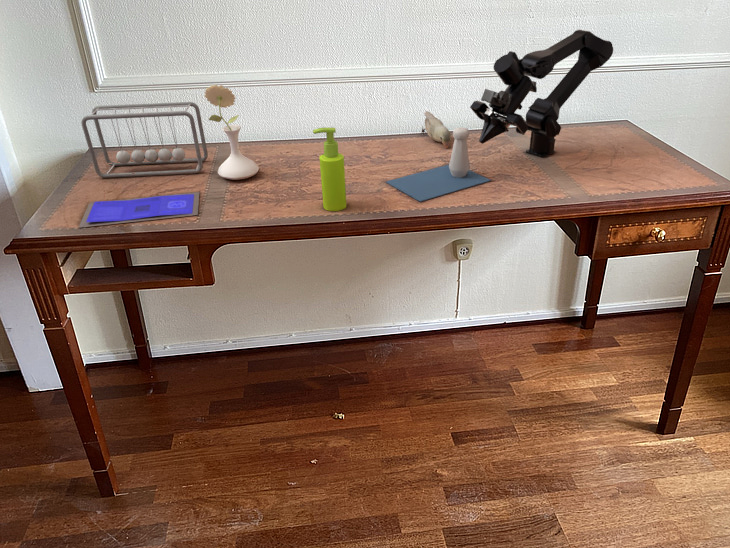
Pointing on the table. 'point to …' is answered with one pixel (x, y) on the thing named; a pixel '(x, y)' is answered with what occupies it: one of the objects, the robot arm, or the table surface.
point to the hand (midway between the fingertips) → (480, 142)
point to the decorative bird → (436, 129)
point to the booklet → (140, 209)
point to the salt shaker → (459, 153)
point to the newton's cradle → (149, 154)
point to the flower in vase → (230, 137)
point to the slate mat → (435, 183)
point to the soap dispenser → (332, 173)
